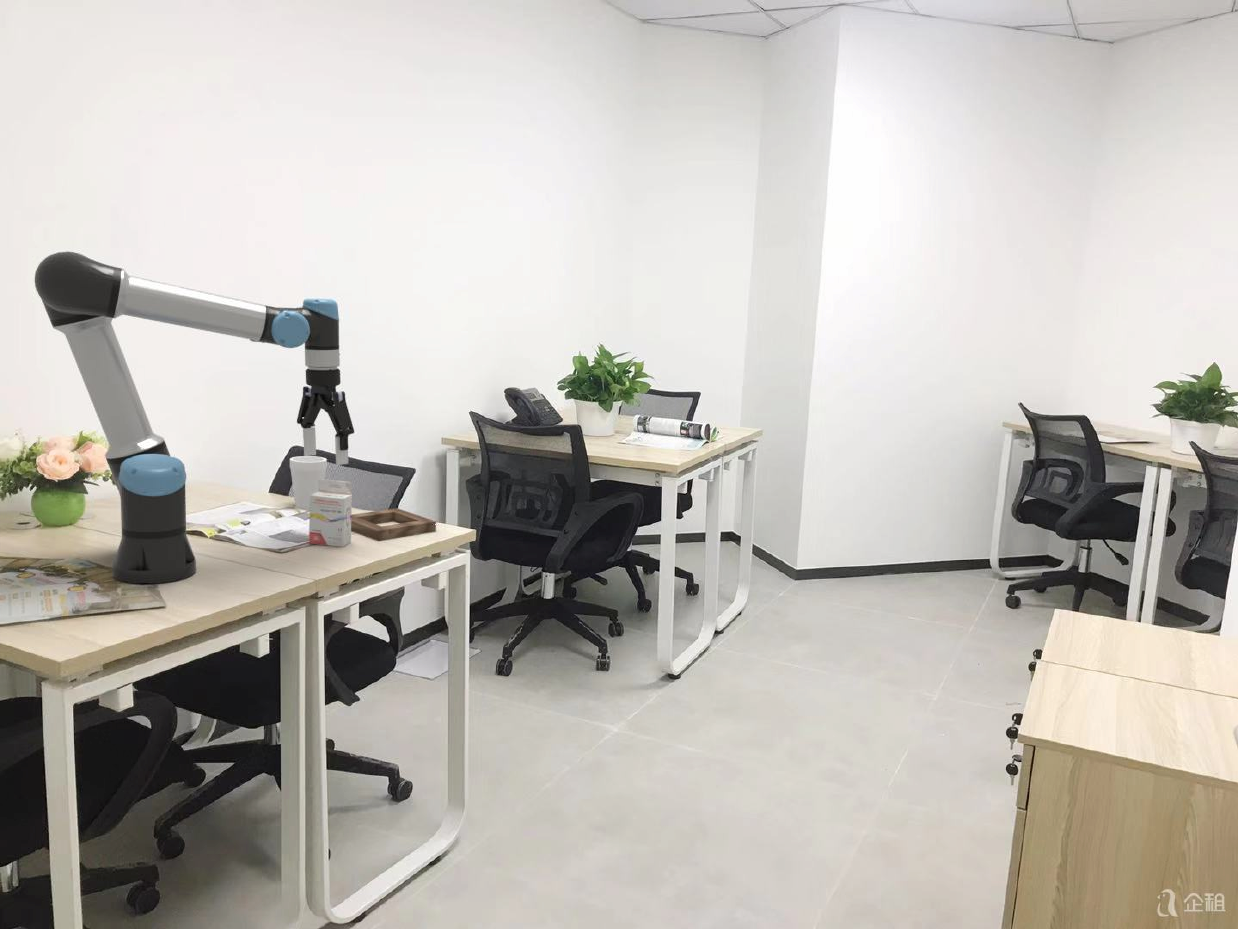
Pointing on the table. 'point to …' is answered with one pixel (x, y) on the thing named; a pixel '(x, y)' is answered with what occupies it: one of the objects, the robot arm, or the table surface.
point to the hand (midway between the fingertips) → (325, 459)
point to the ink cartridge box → (331, 514)
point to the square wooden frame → (407, 526)
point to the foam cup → (306, 478)
